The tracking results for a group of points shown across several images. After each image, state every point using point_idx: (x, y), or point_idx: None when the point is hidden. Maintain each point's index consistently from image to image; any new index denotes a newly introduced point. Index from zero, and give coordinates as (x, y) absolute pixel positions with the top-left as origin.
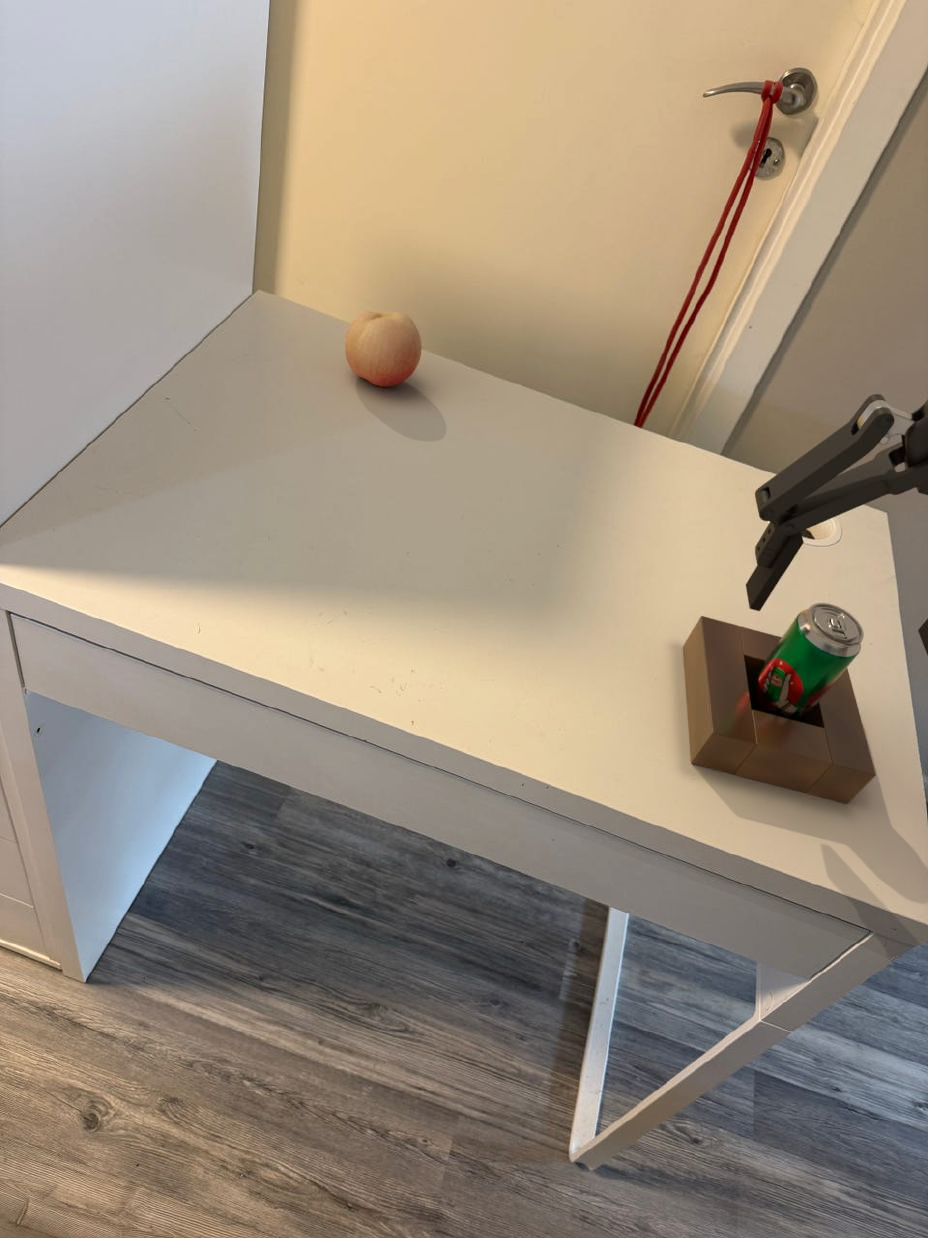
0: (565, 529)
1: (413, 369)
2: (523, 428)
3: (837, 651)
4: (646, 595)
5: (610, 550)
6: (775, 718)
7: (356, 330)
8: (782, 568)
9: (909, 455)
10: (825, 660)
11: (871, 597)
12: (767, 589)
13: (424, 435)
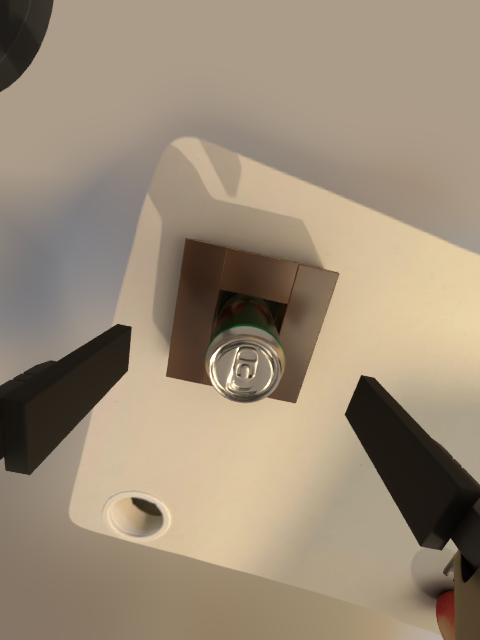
0: (348, 481)
1: (446, 615)
2: (348, 568)
3: (252, 331)
4: (302, 427)
5: (317, 466)
6: (267, 295)
7: None
8: (415, 429)
9: None
10: (259, 324)
11: (98, 447)
12: (388, 398)
13: (432, 551)
